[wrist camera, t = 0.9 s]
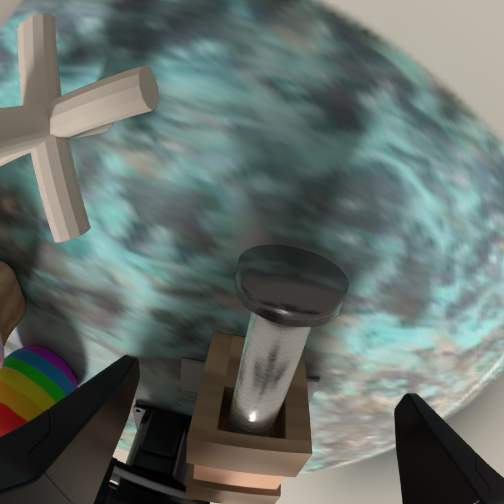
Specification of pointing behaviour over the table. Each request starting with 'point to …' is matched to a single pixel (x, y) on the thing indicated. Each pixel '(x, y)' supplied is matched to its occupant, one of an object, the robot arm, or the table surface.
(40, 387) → the decorative egg
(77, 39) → the table surface
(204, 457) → the pillow blocks
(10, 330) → the cupcake
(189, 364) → the mat
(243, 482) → the spacer
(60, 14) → the table surface
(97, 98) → the pipe connector
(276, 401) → the shaft
